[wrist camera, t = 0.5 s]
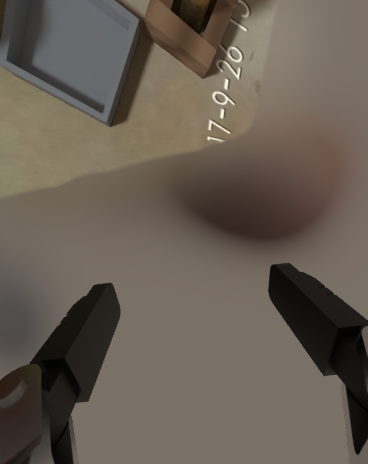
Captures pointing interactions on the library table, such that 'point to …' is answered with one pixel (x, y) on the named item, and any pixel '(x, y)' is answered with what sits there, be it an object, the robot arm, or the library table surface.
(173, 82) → the library table surface
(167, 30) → the pin block
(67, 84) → the tray
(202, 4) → the lock pin
